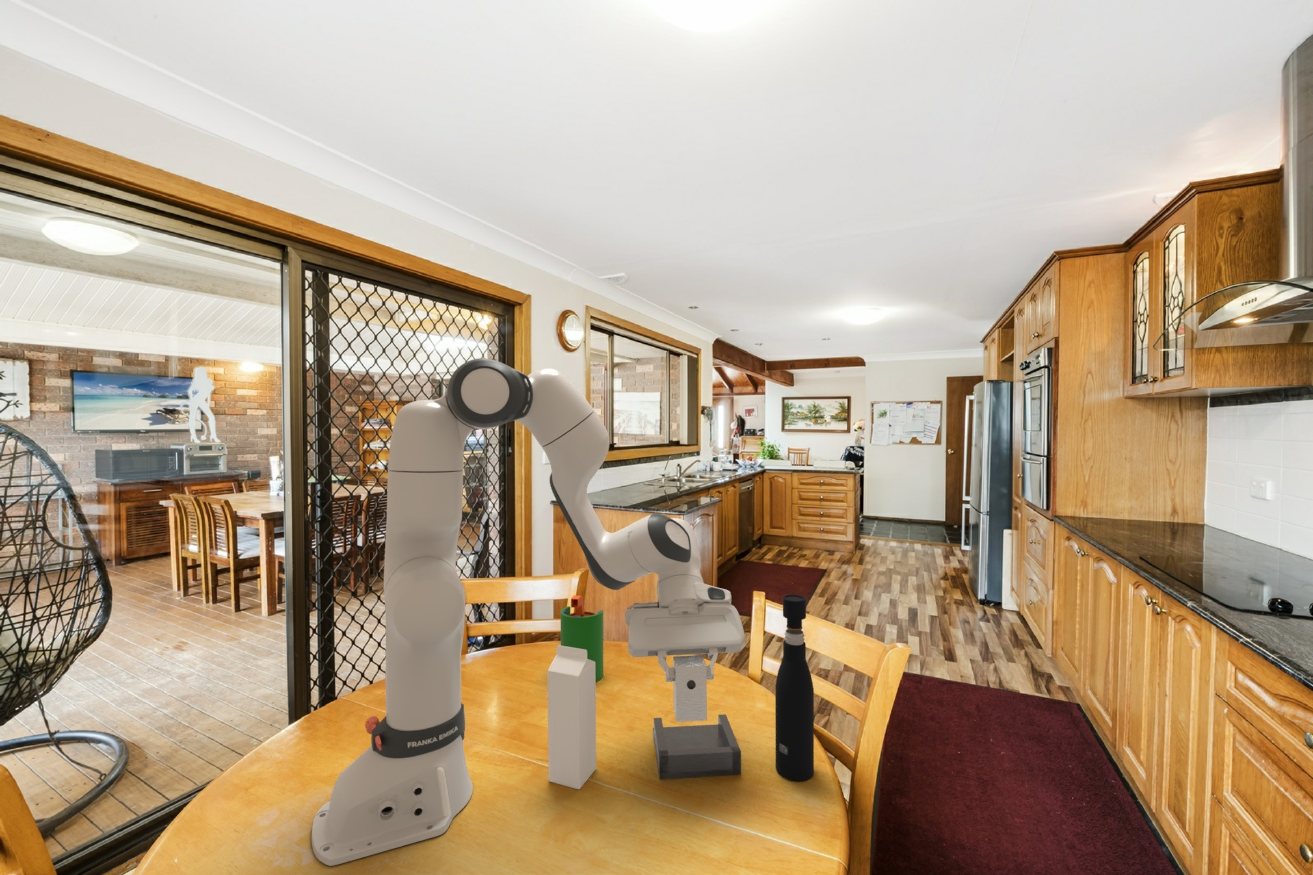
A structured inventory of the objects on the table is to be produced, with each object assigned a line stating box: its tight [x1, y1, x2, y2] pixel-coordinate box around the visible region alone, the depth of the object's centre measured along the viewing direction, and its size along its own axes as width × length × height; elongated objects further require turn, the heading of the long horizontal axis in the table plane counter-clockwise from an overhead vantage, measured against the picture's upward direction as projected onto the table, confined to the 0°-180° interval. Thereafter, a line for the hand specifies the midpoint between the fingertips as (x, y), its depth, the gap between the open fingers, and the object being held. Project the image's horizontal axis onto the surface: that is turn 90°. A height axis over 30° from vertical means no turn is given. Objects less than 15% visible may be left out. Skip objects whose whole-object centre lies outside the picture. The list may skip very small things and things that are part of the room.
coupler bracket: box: [652, 714, 742, 780], centre depth 99 cm, size 14×14×4 cm
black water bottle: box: [774, 594, 815, 783], centre depth 93 cm, size 6×6×30 cm
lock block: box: [672, 654, 708, 723], centre depth 89 cm, size 4×5×9 cm
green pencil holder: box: [560, 594, 604, 683], centre depth 129 cm, size 10×9×20 cm
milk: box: [547, 644, 597, 790], centre depth 92 cm, size 6×6×22 cm
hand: (690, 679), depth 89 cm, fingers closed on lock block, 5 cm apart
